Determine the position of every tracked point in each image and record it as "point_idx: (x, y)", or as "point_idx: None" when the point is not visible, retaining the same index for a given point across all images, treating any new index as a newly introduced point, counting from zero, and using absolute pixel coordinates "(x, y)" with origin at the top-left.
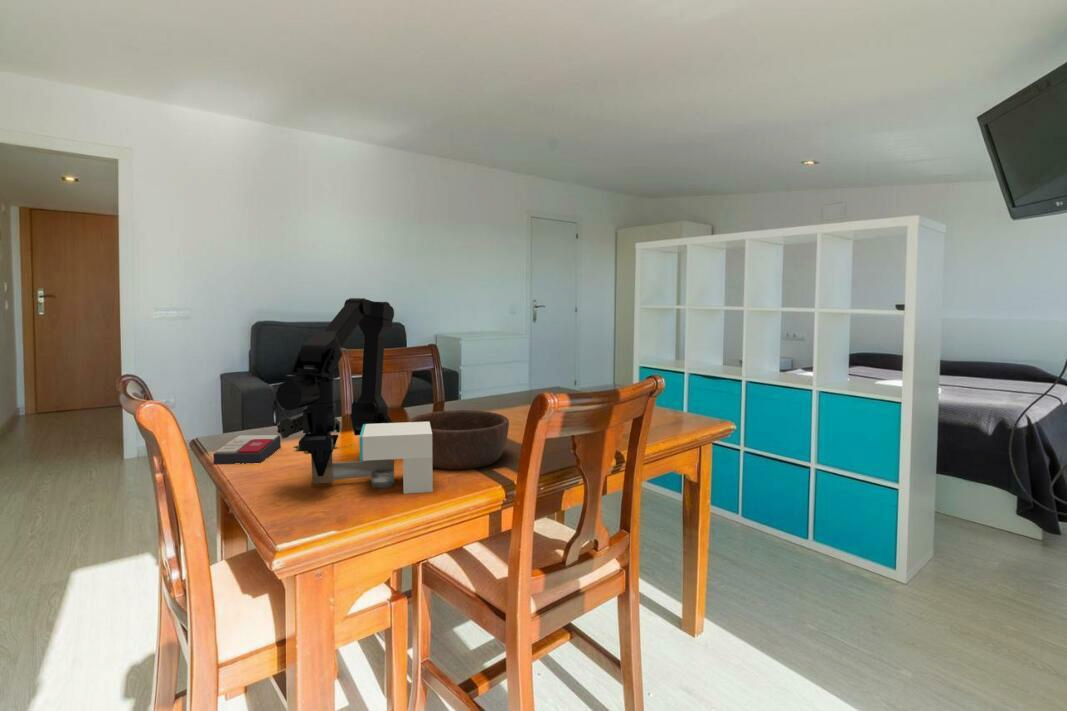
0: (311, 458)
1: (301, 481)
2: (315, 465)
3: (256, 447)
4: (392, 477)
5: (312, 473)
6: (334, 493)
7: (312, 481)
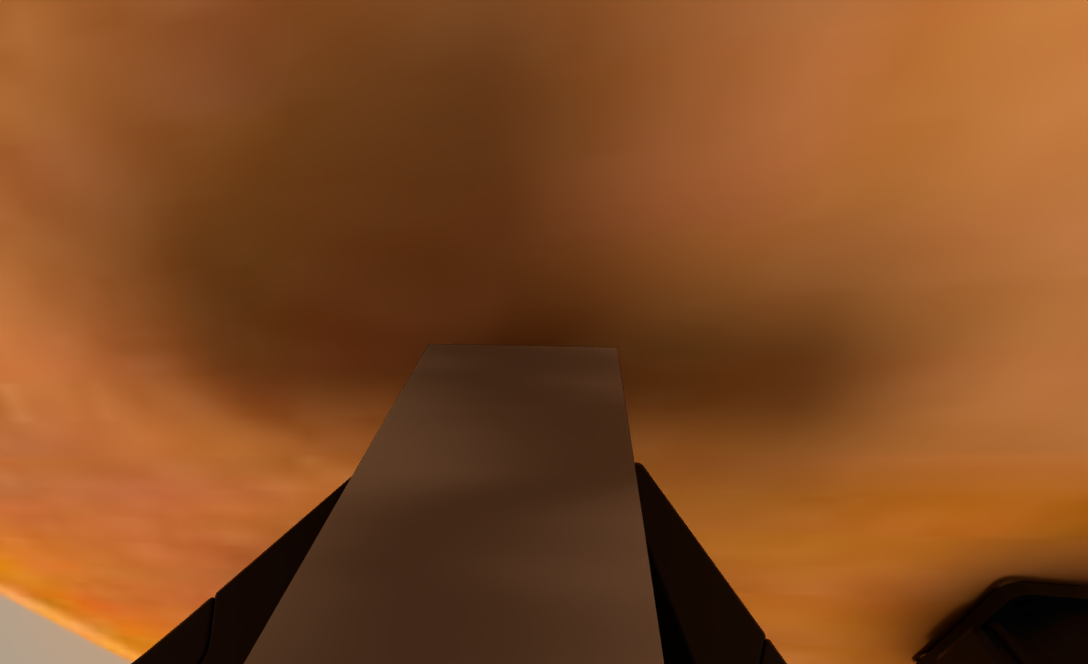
0: (266, 634)
1: (743, 197)
2: (264, 558)
3: None
4: None
5: (388, 420)
6: (345, 448)
7: (420, 359)
